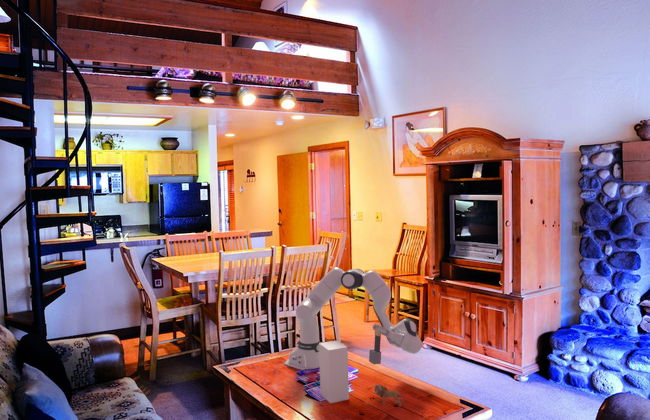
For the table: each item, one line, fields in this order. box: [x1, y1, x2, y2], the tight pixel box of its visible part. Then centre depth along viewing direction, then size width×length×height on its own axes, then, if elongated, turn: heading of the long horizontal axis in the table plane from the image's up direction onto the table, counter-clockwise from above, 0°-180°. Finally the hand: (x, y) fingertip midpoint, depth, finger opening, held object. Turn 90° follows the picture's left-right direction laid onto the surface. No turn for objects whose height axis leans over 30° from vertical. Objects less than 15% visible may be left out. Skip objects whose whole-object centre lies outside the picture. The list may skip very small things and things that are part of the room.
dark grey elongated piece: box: [368, 327, 382, 365], centre depth 256 cm, size 18×5×4 cm
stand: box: [319, 339, 350, 404], centre depth 247 cm, size 10×12×26 cm
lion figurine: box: [373, 383, 406, 408], centre depth 237 cm, size 15×5×9 cm, turn 75°
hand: (375, 327), depth 255 cm, fingers closed on dark grey elongated piece, 3 cm apart
